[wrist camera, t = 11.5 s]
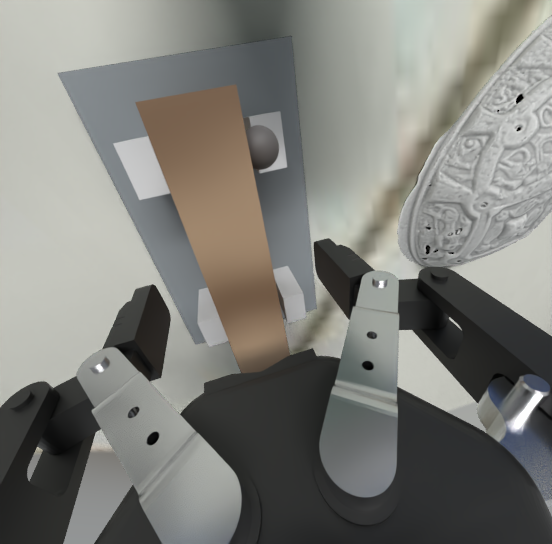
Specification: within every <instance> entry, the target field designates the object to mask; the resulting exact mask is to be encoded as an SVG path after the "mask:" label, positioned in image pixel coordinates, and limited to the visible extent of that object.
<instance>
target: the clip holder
mask: <svg viewBox="0 0 552 544" xmlns="http://www.w3.org/2000/svg"><path fill="white" fill-rule="evenodd" d="M58 75H59V77H60V79H61V81H62V83H63V85H64V87H65V89H66V91H67V93H68V95H69V97H70V99H71V101H72V103H73V105H74V107H75V109H76V111H77V112H78V114H79V116H80V118H81V120H82V122H83V124H84V126H85V128H86V130H87V132H88V134H89V136H90V138H91V140H92V142H93V144H94V146H95V148H96V150H97V152H98V154H99V156H100V158H101V160H102V162H103V164H104V165H105V167H106V169H107V171H108V173H109V175H110V177H111V179H112V181H113V183H114V185H115V187H116V189H117V191H118V193H119V195H120V197H121V199H122V201H123V203H124V205H125V207H126V209H127V211H128V213H129V215H130V217H131V218H132V220H133V222H134V224H135V226H136V228H137V230H138V232H139V234H140V236H141V238H142V240H143V242H144V244H145V246H146V248H147V250H148V252H149V254H150V256H151V258H152V260H153V262H154V264H155V266H156V268H157V270H158V271H159V273H160V275H161V277H162V279H163V281H164V283H165V285H166V287H167V289H168V291H169V293H170V295H171V297H172V299H173V301H174V303H175V305H176V307H177V309H178V311H179V313H180V315H181V317H182V319H183V321H184V323H185V324H186V326H187V328H188V330H189V332H190V334H191V336H192V338H193V340H194V342H195V344H199V343H203V342H207V345H208V347H211V346H214V345H218V344H221V343H225V342H228V341H229V340H228V338H227V335H226V333H225V330H224V328H223V325H222V323H221V320H220V317H219V315H218V312H217V310H216V307H215V305H214V302H213V300H212V297H211V295H210V292H209V289H208V287H207V284H206V282H205V279H204V277H203V274H202V272H201V269H200V266H199V264H198V261H197V259H196V256H195V254H194V251H193V249H192V246H191V244H190V241H189V238H188V236H187V233H186V231H185V228H184V226H183V223H182V221H181V218H180V215H179V213H178V210H177V208H176V205H175V203H174V200H173V198H172V195H171V193H170V190H169V187H168V185H167V182H166V180H165V177H164V175H163V172H162V170H161V167H160V164H159V162H158V159H157V157H156V154H155V152H154V149H153V147H152V144H151V142H150V139H149V136H148V134H147V131H146V129H145V126H144V124H143V121H142V119H141V116H140V113H139V111H138V108H137V106H136V103H135V102H139V101H144V100H150V99H156V98H161V97H167V96H173V95H179V94H184V93H190V92H196V91H201V90H207V89H213V88H218V87H224V86H230V85H235V84H236V86H237V91H238V96H239V101H240V106H241V111H242V116H243V121H244V126H245V131H246V130H247V129H248V128H250V127H252V126H255V125H262V126H265V127H267V128H269V129H270V130H272V131H273V133H274V134H275V135H276V137H277V139H278V143H279V154H278V157H277V159H276V161H275V162H274V163H273V165H271V166H270V167H269V168H266V169H263V170H256V169H253V171H254V177H255V182H256V187H257V192H258V197H259V202H260V207H261V212H262V217H263V222H264V227H265V232H266V237H267V242H268V247H269V252H270V257H271V262H272V267H273V272H274V277H275V282H276V287H277V292H278V297H279V302H280V308H281V313H282V318H286V320H287V323H291V322H295V321H298V320H301V319H305V318H306V312H307V311H310V310H314V309H317V307H316V296H315V285H314V274H313V264H312V253H311V242H310V231H309V220H308V209H307V199H306V188H305V177H304V166H303V155H302V144H301V134H300V123H299V112H298V101H297V90H296V79H295V69H294V58H293V47H292V36H288V37H282V38H276V39H269V40H263V41H257V42H250V43H244V44H238V45H231V46H225V47H219V48H213V49H206V50H200V51H194V52H187V53H181V54H175V55H168V56H162V57H156V58H149V59H143V60H137V61H130V62H124V63H118V64H111V65H105V66H99V67H92V68H86V69H80V70H73V71H67V72H61V73H58Z"/></svg>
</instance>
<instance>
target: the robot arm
mask: <svg viewBox="0 0 552 544" xmlns="http://www.w3.org/2000/svg"><path fill="white" fill-rule="evenodd" d="M314 256H315V268H316V272H317V275H318V278H319V279H320V281H321V282H322V283H323V285H324V286H325V287H326V289H327V290H328V292H329V293H330V294H331V296H332V297H333V298H334V300H335V301H336V303H337V304H338V305H339V307H340V308H341V309H342V311H343V312H344V314H345V315H346V316H347V318H348V319H349V320H350V322H349V326H348V330H347V334H346V339H345V343H344V347H343V351H342V356H341V359H339V358H335V357H330V356H316V354H315V352H314V350H313V348H312V349H309V350H306V351H303V352H300V353H297V354H294V355H290V356H287V357H286V358H284V359H282V360H280V361H279V362H277V363H275V364H274V365H272V366H270V367H269V368H267V369H265V370H263V371H261V372H252V373H240V374H231V375H228V376H225V377H222V378H219V379H215V380H212V381H209V382H206V383H204V393H203V394H202V395H200V396H199V397H197V398H196V399H195V400H193V401H192V402H191V403H190V404H189V405H188V406H187V407H186V408H185V409H184V410H183V411H182V412H181V414H179V413H178V412H177V411H176V410H175V409H174V407H173V406H172V405H171V404H170V403H169V402H168V401H167V400H166V399H165V398H164V397H163V396H162V394H161V393H160V392H159V391H158V390H157V389H156V388H155V387H154V386H153V385H152V384H151V383H150V381H152V380H155V379H159V378H161V375H162V369H163V363H164V357H165V351H166V345H167V339H168V333H169V327H170V321H171V318H170V313H169V310H168V308H167V306H166V304H165V302H164V300H163V298H162V297H161V295H160V293H159V291H158V289H157V288H156V286H155V285H149V286H145V287H142V288H138V289H136V290H135V292H134V295H133V297H132V300H131V301H129V302H127V303H126V304H125V305H124V306H123V307H122V308H121V309H120V311H119V313H118V315H117V317H116V320H115V322H114V324H113V327H112V329H111V331H110V333H109V335H108V338H107V340H106V342H105V344H104V347H103V349H102V350H100V351H98V352H96V353H94V354H93V355H91V356H90V357H89V358H87V359H86V360H85V361H84V362H83V363H82V365H81V366H80V367H79V369H78V371H77V376H76V377H74V378H72V379H70V380H68V381H66V382H64V383H62V384H60V385H58V386H56V387H54V388H53V387H51V386H50V385H49V384H48V383H47V382H36V383H33V384H30V385H28V386H26V387H24V388H23V389H21V390H20V391H18V392H17V393H15V394H14V395H13V396H11V397H10V398H9V399H8V400H7V401H6V402H5V403H4V404H3V405H2V406H1V408H0V544H63V542H64V539H65V536H66V532H67V529H68V525H69V522H70V518H71V515H72V511H73V508H74V505H75V501H76V498H77V494H78V490H79V487H80V484H81V481H82V477H83V474H84V470H85V467H86V463H87V460H88V456H89V453H90V450H91V446H92V443H93V439H94V436H95V433H96V432H97V431H98V430H100V429H102V431H103V433H104V435H105V436H106V438H107V440H108V441H109V443H110V445H111V447H112V448H113V450H114V452H115V454H116V455H117V457H118V459H119V461H120V462H121V464H122V465H123V467H124V469H125V471H126V473H127V474H128V476H129V478H130V480H131V481H132V483H133V485H132V487H131V488H130V490H129V492H128V493H127V495H126V496H125V498H124V499H123V501H122V502H121V504H120V505H119V507H118V508H117V510H116V511H115V513H114V514H113V516H112V518H111V519H110V520H109V522H108V523H107V525H106V527H105V528H104V530H103V531H102V533H101V534H100V536H99V537H98V539H97V540H96V542H95V543H94V544H552V516H551V514H550V512H549V509H548V507H550V506H552V336H550V335H549V334H547V333H546V332H544V331H543V330H541V329H540V328H538V327H537V326H535V325H534V324H532V323H531V322H529V321H528V320H526V319H525V318H523V317H522V316H520V315H519V314H517V313H516V312H514V311H513V310H511V309H510V308H508V307H507V306H505V305H504V304H502V303H501V302H499V301H498V300H496V299H495V298H493V297H492V296H490V295H489V294H487V293H486V292H484V291H483V290H481V289H480V288H478V287H477V286H475V285H474V284H472V283H471V282H469V281H468V280H466V279H465V278H463V277H462V276H460V275H459V274H457V273H456V272H454V271H452V270H450V269H447V268H443V267H427V268H424V269H422V270H421V271H420V272H419V276H418V279H406V280H398V278H397V277H396V276H395V275H393V274H391V273H389V272H385V271H375V270H374V269H373V268H372V267H370V266H369V265H368V264H367V263H366V262H365V261H364V260H362V259H361V258H360V257H359V256H358V255H357V254H355V253H354V252H353V251H352V250H351V249H350V248H348V247H345V246H343V245H338V246H337V245H336V244H335V243H334V242H333V241H332V240H330V239H329V238H327V239H324V240H320V241H316V242H314ZM449 317H451V318H452V319H453V320H454V321H455V322H456V323H457V324H458V325H459V326H460V327H461V329H462V330H460V329H459V328H458V327H457V326H456V325H455V324H454V323H453V322H451V321H450V320H449ZM399 330H413V331H414V333H415V334H416V335H417V336H418V337H419V338H420V339H421V340H422V341H423V343H424V344H425V345H426V346H427V347H428V348H429V349H430V350H431V352H432V353H433V354H434V355H435V356H436V357H437V358H438V359H439V361H440V362H441V363H442V364H443V365H444V366H445V367H446V368H447V369H448V371H449V372H450V373H451V374H452V375H453V376H454V377H455V378H456V380H457V381H458V382H459V383H460V384H461V385H462V386H463V387H464V389H465V390H466V391H467V392H468V393H469V394H470V395H471V396H472V397H473V399H474V400H475V401H476V402H477V403H478V405H477V414H478V417H479V419H480V421H481V423H482V424H483V426H484V427H485V429H486V433H485V432H484V431H482V430H480V429H479V428H477V427H475V426H473V425H471V424H469V423H467V422H465V421H463V420H461V419H459V418H457V417H455V416H453V415H452V414H449V413H448V412H446V411H444V410H442V409H440V408H438V407H436V406H434V405H432V404H430V403H428V402H426V401H424V400H422V399H420V398H418V397H416V396H414V395H412V394H410V393H408V392H407V391H405V390H403V389H401V388H399V387H397V378H398V343H399ZM37 447H39V448H41V449H42V450H43V452H42V454H41V457H40V459H39V461H38V464H37V466H36V468H35V470H34V473H33V475H32V477H31V479H30V482H29V481H28V478H27V468H28V466H29V463H30V461H31V459H32V457H33V454H34V452H35V450H36V448H37Z"/></svg>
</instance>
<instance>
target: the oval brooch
mask: <svg viewBox="0 0 552 544" xmlns="http://www.w3.org/2000/svg"><path fill="white" fill-rule="evenodd" d="M520 94H523V98H524V99H523V100H522V101H521V102H519V103H518V104H516V99H517V97H518V96H519V95H520ZM497 110H500V111H499V112H497ZM518 127H520V128H521V130H520V131H516V130H517V128H518ZM430 184H431V186H429V185H430ZM551 211H552V15H551V16H550V17H549V18H547V19H546V20H545V21H544V22H543V23H542V24H541V25H539V26H538V27H537V28H536V29H535V30H534V31H532V33H531V34H530V35H529V36H528V37H527V38H526V39H525V40H524V41H523V42H522V43H521V44H520V45H519V46H518V47H517V48H516V50H515V51H514V52H513V53H512V54H511V55H510V56H509V57H508V58H507V60H506V61H505V62H504V63H503V64H502V65H501V67H500V68H499V70H498V71H497V72H496V73H495V74H494V75H493V76H492V77H491V78H490V79H489V81H488V82H487V83H486V84H485V85H484V87H483V88H482V89H481V90H480V92H479V93H478V94H477V95H476V97H475V98H474V99H473V101H472V102H471V103H470V104H469V106H468V107H467V108H466V110H465V111H464V112H463V113H462V115H461V116H460V117H459V118H458V120H457V121H456V122H455V123H454V125H453V126H452V127H451V128H450V129H449V130H448V131H447V132H446V133H445V134H444V135H443V136H442V137H440V139H439V140H438V141H437V143H436V144H435V145H434V147H433V149H432V151H431V153H430V155H429V156H428V159H427V160H426V162H425V165H424V167H423V169H422V170H421V172H420V173H419V175H418V182H417V184H416V186H415V188H414V189H413V190H412V192H411V193H410V194H409V196H408V197H407V199H406V201H405V203H404V206H403V208H402V210H401V214H400V219H399V223H398V230H397V234H398V244H399V247H400V250H401V252H402V253H403V254H404V255H406V257H407V259H409V261H413V262H414V263H415V264H416V263H418V264H420V265H423V266H429V267H444V266H456V265H462V264H465V263H467V262H471V261H473V260H476V259H479V258H482V257H485V256H488V255H490V254H492V253H495V252H497V251H499V250H501V249H503V248H505V247H507V246H509V245H511V244H513V243H515V242H517V241H518V240H520V239H523V238H525V237H526V236H528V235H529V234H530V233H531V232H532V231H533V229H535V228H536V227H537V226H538V225H539V224H540V223H541V222H542V221H543V220H544V219H545V217H546V216H547V215H548V214H549V213H550V212H551ZM428 224H430V225H428ZM429 226H430V227H432V228H431V230H428V229H426V227H429ZM459 228H462V231H461V229H459ZM455 230H458V231H457V234H458V235H455V232H456V231H455ZM420 231H421V232H420ZM460 231H461V232H460ZM452 233H453V235H451V234H452ZM459 233H460V234H459ZM449 235H451V236H449ZM426 245H429V246H430V247H431V248H430V251H429V252H430V253H429V254H426V249H425V247H426ZM436 249H438V251H437V252H436V253H434V252H433V251H435V250H436ZM448 252H454V254H449V253H448ZM422 258H427V259H426V260H424V259H422ZM422 260H424V261H422Z"/></svg>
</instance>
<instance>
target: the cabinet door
mask: <svg viewBox="0 0 552 544" xmlns="http://www.w3.org/2000/svg"><path fill="white" fill-rule="evenodd" d="M135 103H136V106H137V108H138V111H139V113H140V116H141V119H142V121H143V124H144V126H145V129H146V131H147V134H148V136H149V139H150V142H151V144H152V147H153V149H154V152H155V154H156V157H157V159H158V162H159V164H160V167H161V170H162V172H163V175H164V177H165V180H166V182H167V185H168V187H169V190H170V193H171V195H172V198H173V200H174V203H175V205H176V208H177V210H178V213H179V215H180V218H181V221H182V223H183V226H184V228H185V231H186V233H187V236H188V238H189V241H190V244H191V246H192V249H193V251H194V254H195V256H196V259H197V261H198V264H199V266H200V269H201V272H202V274H203V277H204V279H205V282H206V284H207V287H208V289H209V292H210V295H211V297H212V300H213V302H214V305H215V307H216V310H217V312H218V315H219V317H220V320H221V323H222V325H223V328H224V330H225V333H226V335H227V338H228V340H229V343H230V346H231V348H232V351H233V353H234V356H235V358H236V361H237V363H238V366H239V368H240V371H241V373H252V372H261V371H263V370H265V369H267V368H269V367H270V366H272V365H274V364H275V363H277V362H279V361H280V360H282V359H284V358H286V357H287V356H290V353H289V348H288V343H287V338H286V333H285V328H284V323H283V318H282V313H281V308H280V302H279V297H278V292H277V287H276V282H275V277H274V272H273V267H272V262H271V257H270V252H269V247H268V242H267V237H266V232H265V227H264V222H263V217H262V212H261V207H260V202H259V197H258V192H257V187H256V182H255V177H254V171H253V169H256V170H263V169H266V168H269V167H270V166H271V165H273V163H274V162H275V161H276V159H277V157H278V154H279V143H278V139H277V137H276V135H275V134H274V133H273V131H272V130H270V129H269V128H267V127H265V126H262V125H255V126H252V127H250V128H248V129H247V130H246V131H245V126H244V121H243V116H242V111H241V106H240V101H239V96H238V91H237V86H236V84H235V85H230V86H224V87H218V88H213V89H207V90H201V91H196V92H190V93H184V94H179V95H173V96H167V97H161V98H156V99H150V100H144V101H139V102H135Z"/></svg>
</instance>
